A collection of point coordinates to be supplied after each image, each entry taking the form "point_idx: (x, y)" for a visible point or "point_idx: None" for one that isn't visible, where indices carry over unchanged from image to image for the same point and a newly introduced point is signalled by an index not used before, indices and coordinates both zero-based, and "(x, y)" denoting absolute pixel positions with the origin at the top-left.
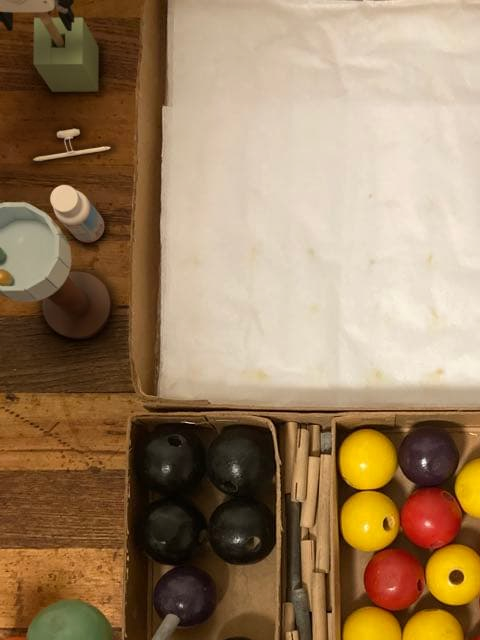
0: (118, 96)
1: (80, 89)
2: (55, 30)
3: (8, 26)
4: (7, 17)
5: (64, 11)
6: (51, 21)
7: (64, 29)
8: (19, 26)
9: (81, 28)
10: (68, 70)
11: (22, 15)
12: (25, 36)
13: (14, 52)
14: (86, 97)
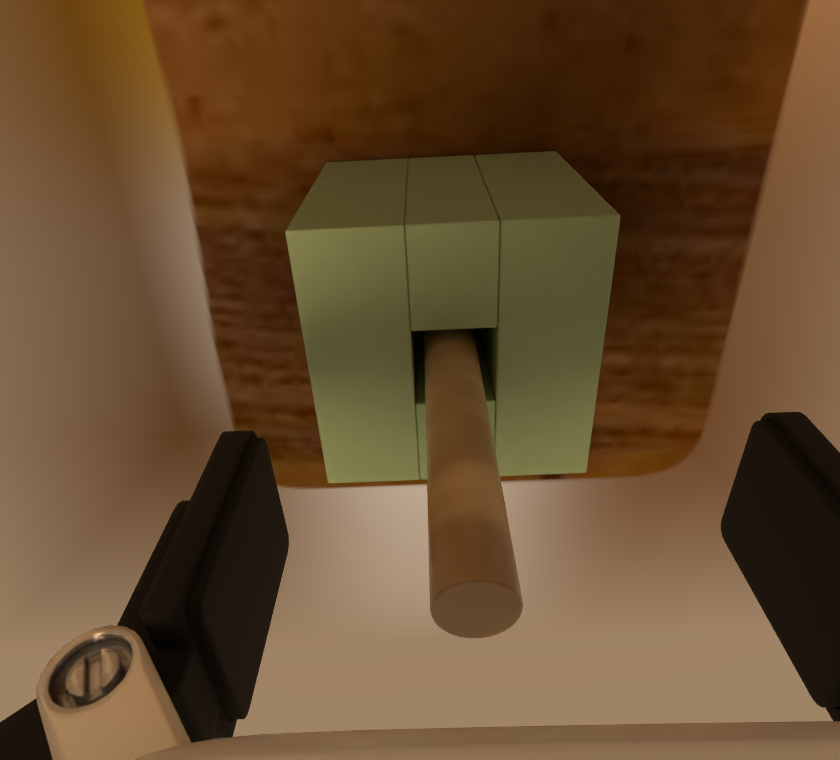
0: (222, 141)
1: (408, 162)
2: (430, 423)
3: (802, 450)
4: (802, 531)
5: (105, 654)
6: (428, 484)
7: (419, 426)
8: (664, 421)
9: (325, 434)
10: (406, 205)
11: (646, 456)
12: (647, 388)
13: (704, 326)
14: (382, 127)
